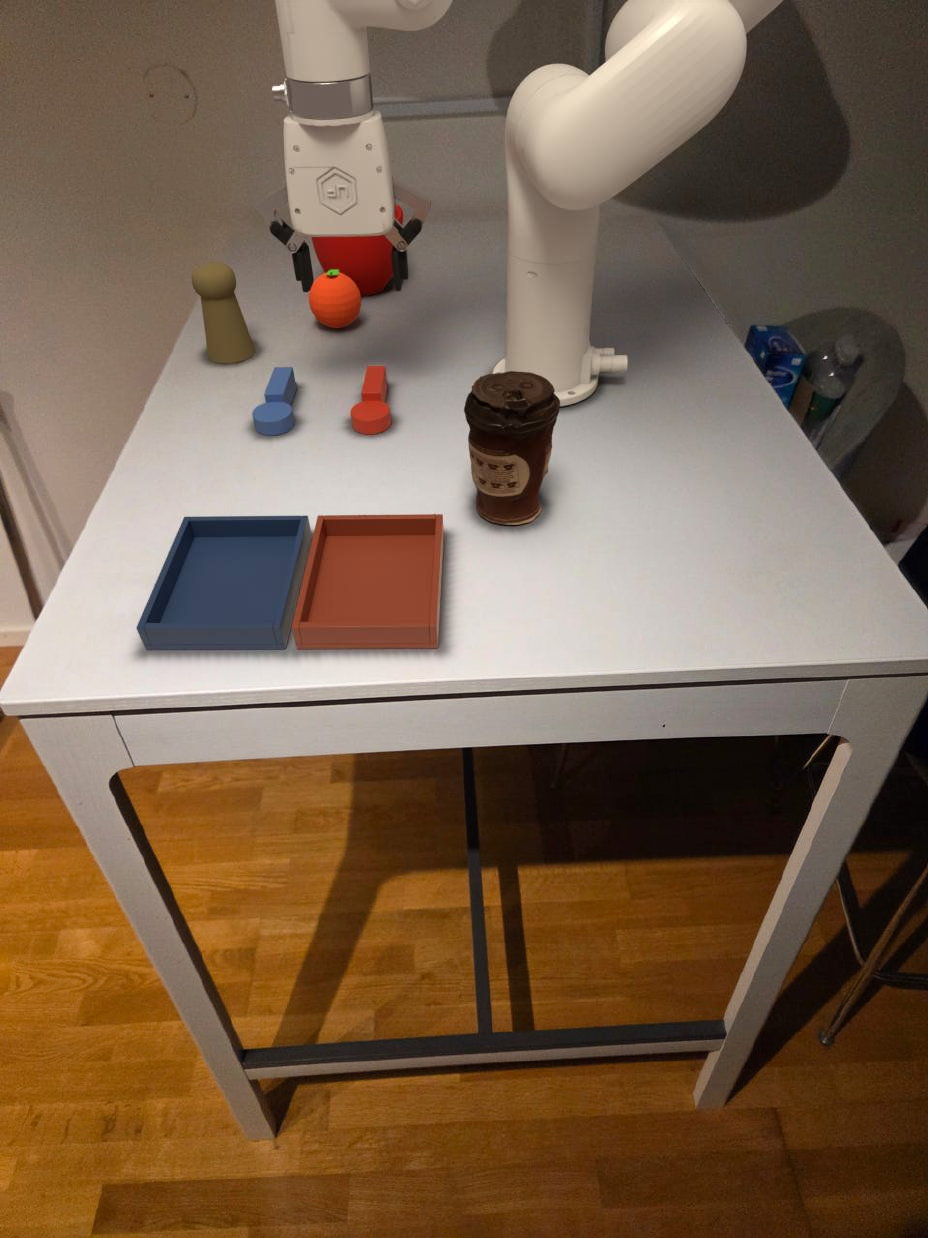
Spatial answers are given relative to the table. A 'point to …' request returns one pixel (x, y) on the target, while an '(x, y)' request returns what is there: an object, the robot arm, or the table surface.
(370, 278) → the ceramic cup
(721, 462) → the table surface
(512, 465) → the coffee cup
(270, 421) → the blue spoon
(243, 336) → the olive brown pawn
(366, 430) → the red spoon
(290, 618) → the blue tray
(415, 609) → the red tray
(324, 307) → the clementine
